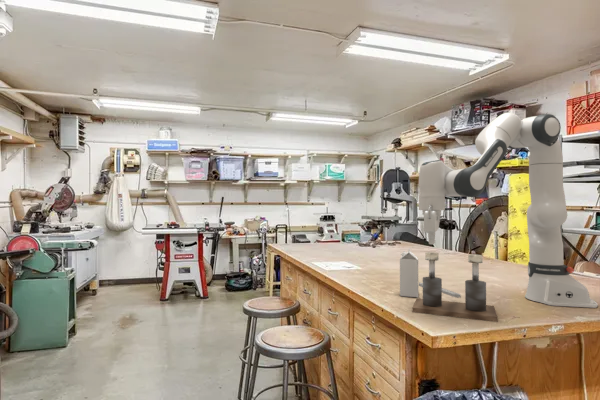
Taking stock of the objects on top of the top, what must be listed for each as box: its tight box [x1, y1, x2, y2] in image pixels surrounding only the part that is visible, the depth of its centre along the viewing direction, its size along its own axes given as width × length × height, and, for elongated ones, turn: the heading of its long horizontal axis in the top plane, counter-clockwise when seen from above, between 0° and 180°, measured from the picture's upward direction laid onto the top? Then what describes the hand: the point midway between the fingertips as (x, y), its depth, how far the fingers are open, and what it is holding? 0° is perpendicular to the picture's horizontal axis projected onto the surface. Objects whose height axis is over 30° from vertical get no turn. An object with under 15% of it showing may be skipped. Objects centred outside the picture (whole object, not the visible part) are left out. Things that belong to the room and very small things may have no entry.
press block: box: [411, 276, 499, 323], centre depth 126 cm, size 26×14×11 cm, turn 66°
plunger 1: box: [424, 251, 440, 278], centre depth 129 cm, size 4×4×9 cm
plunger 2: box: [467, 253, 484, 282], centre depth 123 cm, size 4×4×9 cm
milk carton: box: [399, 247, 419, 298], centre depth 148 cm, size 7×7×19 cm
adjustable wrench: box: [418, 281, 462, 298], centre depth 156 cm, size 25×6×2 cm, turn 11°
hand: (431, 244), depth 129 cm, fingers closed
